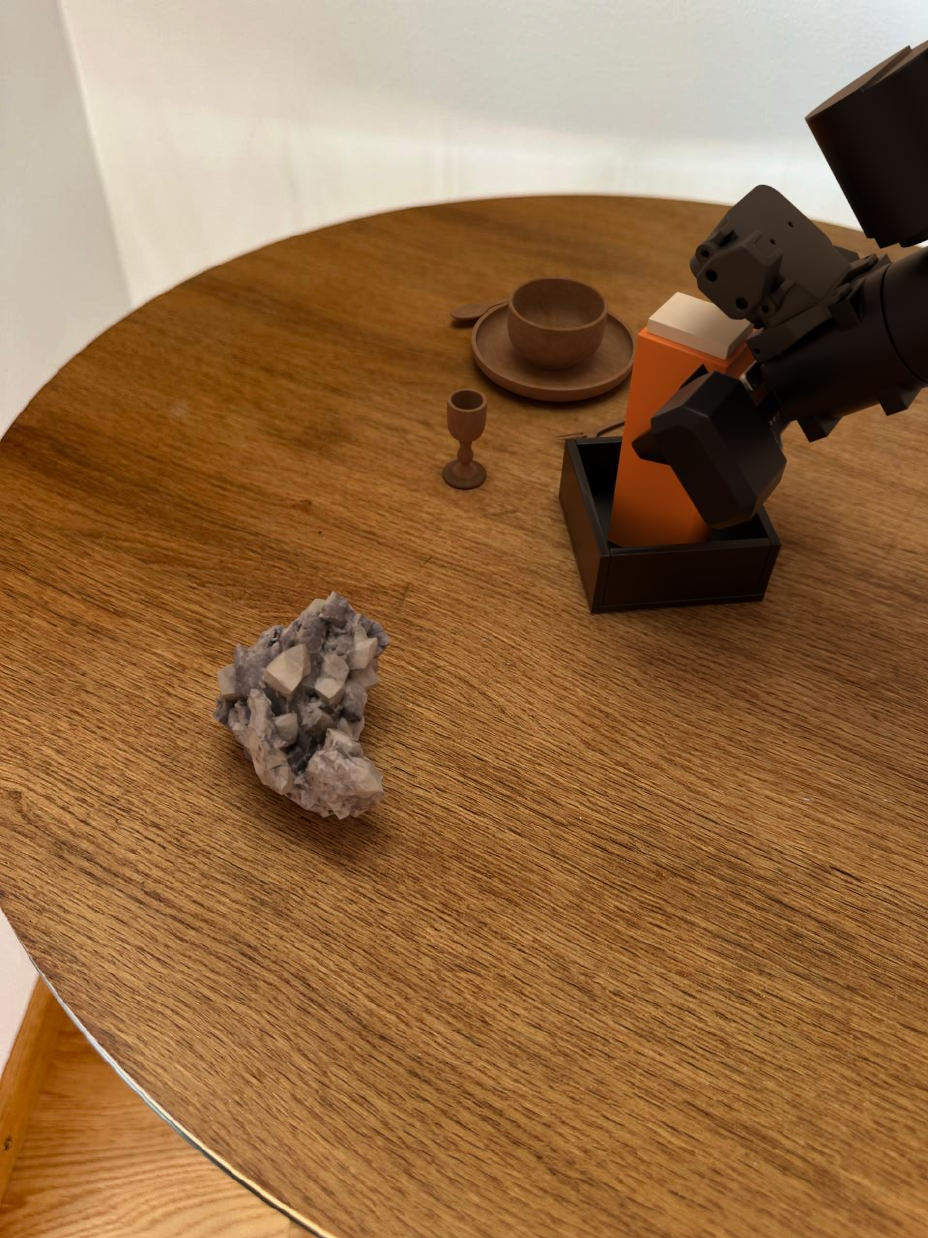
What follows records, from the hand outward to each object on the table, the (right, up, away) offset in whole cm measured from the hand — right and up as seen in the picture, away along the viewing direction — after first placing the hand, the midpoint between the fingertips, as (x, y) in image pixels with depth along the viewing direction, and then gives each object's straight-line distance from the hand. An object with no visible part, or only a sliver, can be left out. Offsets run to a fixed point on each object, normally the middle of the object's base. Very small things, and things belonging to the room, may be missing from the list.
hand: (656, 428), depth 60 cm
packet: (+1, -6, +5) cm, 8 cm away
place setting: (-7, +6, +17) cm, 19 cm away
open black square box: (+1, -6, +6) cm, 8 cm away
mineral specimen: (-19, -17, -5) cm, 26 cm away
